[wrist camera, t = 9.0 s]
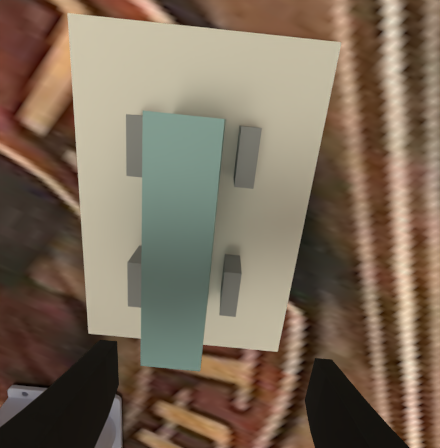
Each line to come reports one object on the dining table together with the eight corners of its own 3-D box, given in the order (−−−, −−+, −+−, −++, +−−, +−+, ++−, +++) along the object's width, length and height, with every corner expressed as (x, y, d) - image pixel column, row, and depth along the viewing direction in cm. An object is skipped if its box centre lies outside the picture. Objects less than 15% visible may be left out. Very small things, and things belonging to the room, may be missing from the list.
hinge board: (95, 322, 23) (72, 358, 19) (78, 20, 16) (38, -6, 13) (275, 340, 23) (283, 378, 19) (333, 47, 16) (361, 28, 13)
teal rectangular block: (164, 297, 20) (140, 365, 15) (171, 113, 16) (142, 110, 11) (207, 301, 20) (200, 371, 15) (225, 119, 16) (224, 118, 11)
